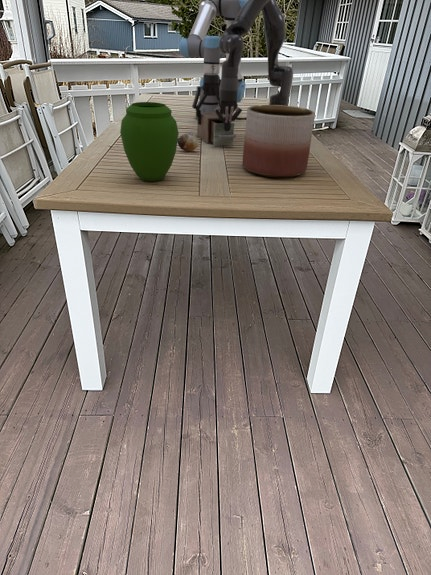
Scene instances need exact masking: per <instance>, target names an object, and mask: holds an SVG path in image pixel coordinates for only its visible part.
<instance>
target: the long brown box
mask: <svg viewBox="0 0 431 575" xmlns="http://www.w3.org/2000/svg"><path fill="white" fill-rule="evenodd" d="M220 114H221V113H220ZM221 115H222V117H223V114H221ZM210 120H220V119H219V117H218V116H217V114H216V113H215V112H201V125H199V124H198V123H197V124H196V125H197V129H196V130H197V132H196V135H197V137H198V138H200V139H201V140H202V141H204V142H205V143H206V144H208V145H209V144H213V143H212V142H211V141H210V140H209V131H210Z"/></svg>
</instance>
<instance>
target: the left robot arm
mask: <svg viewBox="0 0 431 575" xmlns="http://www.w3.org/2000/svg"><path fill="white" fill-rule="evenodd" d="M247 1H248V0H201V1H200V2H199V5H198V13H197V16H196V17H195V20H194V23H193V25H192V28H191V30H190V32H189V35H188V37H187V38H182V39H180V42H179V53H180V55H181V56H182V57H185V58H198V59H200V58H201V59H203V70H202V71H203V76H202V78H200V80H199V86H196V92H195V95H194V99H193V102H192V106H191V107H192V108H193V110H195V119H196V120H197V124H199V125H201V112H215V111H214V109H215V108H217V107H218V106H219V103H220V84H221V76H220V75H219V74H220V65H221V64H220V63H221V59H223V58H224V57H225V61H226V60H228V57H229V54H227V53H223V52H222V51H221V50H220V48H219V41H220V38H221V36H219V35H207V34H208V31H209V30H210V29H209V28H210V27H211V24H212V22H213V20H214V19H215V18H216V16H218V17H219V16H221V17H223V21H224V22H225V23H226V29H227V28H228V27H229V26H230V25H231V24H232V23H233V22H234V21H235V19H236V17H237V15H238V13H239V12H240V10H241V8H242V7H243V6H244V4H245V3H246V2H247ZM241 37H242V38H243V36H241ZM241 70H242V59H241V60H240V63H239V67H238V94H237V103H241V102H242V100H243V98H244V95H245V90H246V81H245V80H244V77H243V75H242V74H241V72H242V71H241ZM220 113H221V114H223V113H222V111H221V109H220ZM246 118H247V117H237V118H236V120H246Z"/></svg>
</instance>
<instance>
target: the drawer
mask: <svg viewBox="0 0 431 575" xmlns="http://www.w3.org/2000/svg"><path fill="white" fill-rule="evenodd" d="M234 132H235V123H234V122H231V129H230V130H229V131H225V130H224V122H223V121H221V120H210V131H209V140H210V141H211V142H212V143H211V144H213V146H214V147H220V146H234V139H236V137H237V135H236V134H234Z"/></svg>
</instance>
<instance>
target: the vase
mask: <svg viewBox="0 0 431 575" xmlns="http://www.w3.org/2000/svg"><path fill="white" fill-rule="evenodd" d="M125 113H126V114H125V115H124V117H122V119H121V122H120V123H121V124H120V130H119V133H120V138H121V142H122V147H123V150H124V154H125V155H126V158H127V160H128V163H129V165H130V167H131V168H132V170H133V172H134V173H135V175H136V176H137V177H138V178H139V179H141V180H143V181H145V182H159V181H161V180H163V179H164V178H165V176H166V175H167V174H168V173H169V170H170V169H171V167H172V165H173V162H174V159H175V157H176V156H175V155H176V153H177V147H178V142H177V141H178V138H179V129H178V122H177V120H176V119H175V117H174V116H173V115H172V109H171V108H170V107H169V106H167V105H166V104H164V103H162V102H155V101H138V102H132V103H131V104H130V105H128V107H127V108H125Z"/></svg>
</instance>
